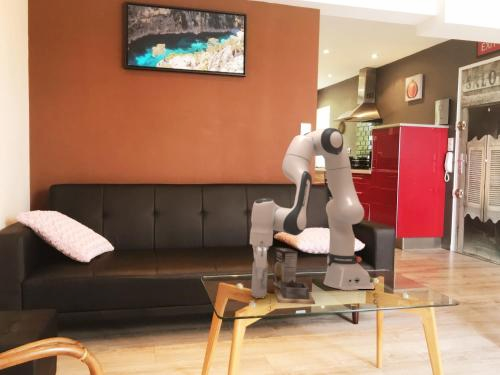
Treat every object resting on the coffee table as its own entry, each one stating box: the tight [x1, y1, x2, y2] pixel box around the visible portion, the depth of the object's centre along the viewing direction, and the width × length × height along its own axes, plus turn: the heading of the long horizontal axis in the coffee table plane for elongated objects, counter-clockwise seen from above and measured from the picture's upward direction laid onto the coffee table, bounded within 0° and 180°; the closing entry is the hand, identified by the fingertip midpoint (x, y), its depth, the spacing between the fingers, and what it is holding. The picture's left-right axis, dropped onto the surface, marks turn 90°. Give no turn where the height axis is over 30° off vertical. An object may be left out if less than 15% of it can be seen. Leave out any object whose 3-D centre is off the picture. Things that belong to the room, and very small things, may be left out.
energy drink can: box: [250, 260, 269, 298], centre depth 168 cm, size 6×6×15 cm
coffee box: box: [272, 247, 298, 289], centre depth 185 cm, size 9×6×16 cm
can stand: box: [274, 281, 316, 305], centre depth 170 cm, size 14×14×5 cm
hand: (258, 275), depth 168 cm, fingers open, 8 cm apart
